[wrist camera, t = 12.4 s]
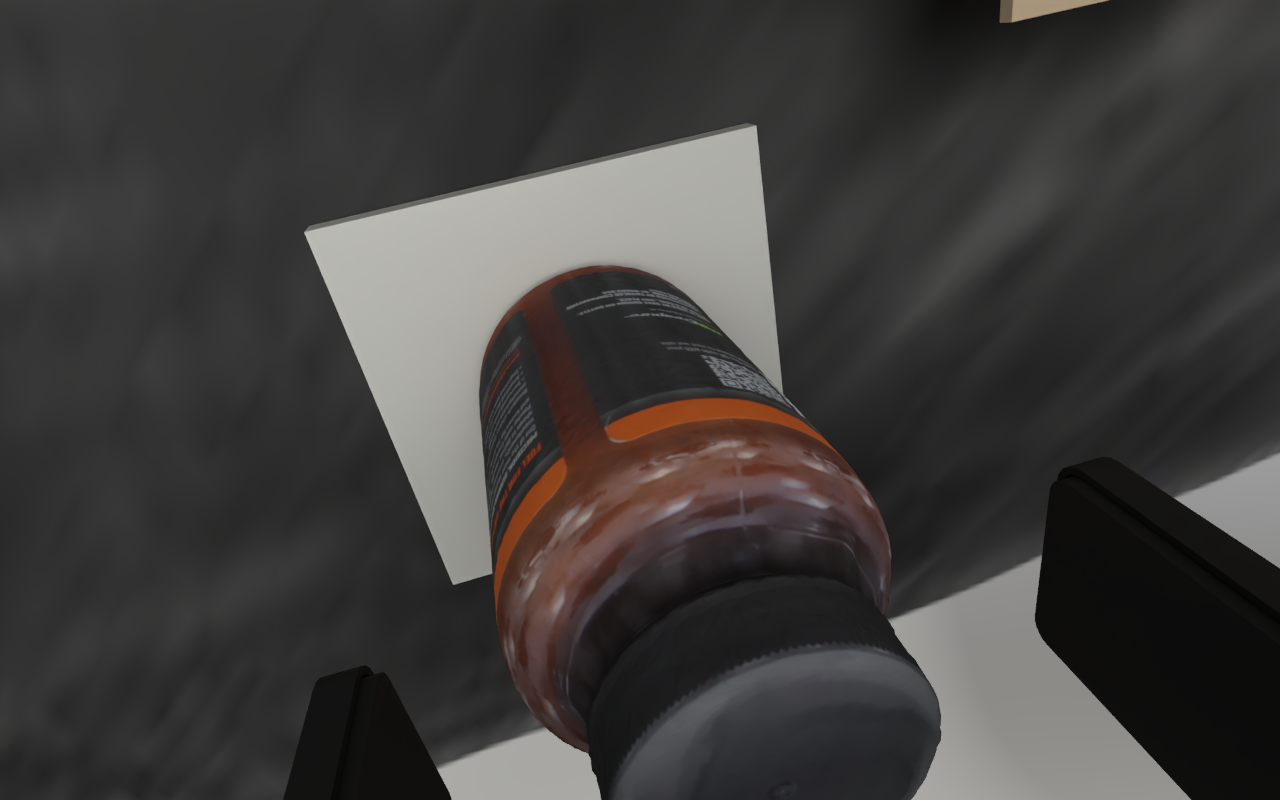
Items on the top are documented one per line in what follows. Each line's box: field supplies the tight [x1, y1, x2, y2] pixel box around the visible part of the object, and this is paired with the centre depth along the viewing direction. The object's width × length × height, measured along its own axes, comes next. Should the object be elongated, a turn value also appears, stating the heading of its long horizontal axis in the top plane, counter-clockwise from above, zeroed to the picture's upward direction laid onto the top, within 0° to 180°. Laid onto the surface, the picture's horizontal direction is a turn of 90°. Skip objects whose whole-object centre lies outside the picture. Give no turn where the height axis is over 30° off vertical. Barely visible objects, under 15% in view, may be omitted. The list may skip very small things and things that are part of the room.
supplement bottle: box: [479, 265, 941, 800], centre depth 13 cm, size 6×6×11 cm
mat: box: [304, 123, 783, 585], centre depth 18 cm, size 10×10×1 cm
